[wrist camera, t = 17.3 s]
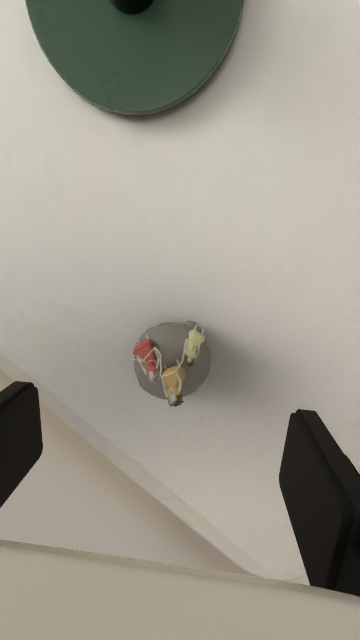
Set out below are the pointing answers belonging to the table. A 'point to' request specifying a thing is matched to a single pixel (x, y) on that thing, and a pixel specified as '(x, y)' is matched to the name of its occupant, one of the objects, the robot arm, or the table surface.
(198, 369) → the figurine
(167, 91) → the trash can lid
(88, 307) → the table surface
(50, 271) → the table surface
